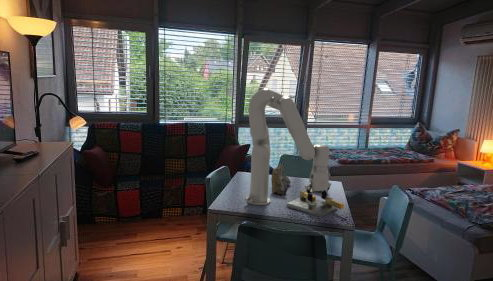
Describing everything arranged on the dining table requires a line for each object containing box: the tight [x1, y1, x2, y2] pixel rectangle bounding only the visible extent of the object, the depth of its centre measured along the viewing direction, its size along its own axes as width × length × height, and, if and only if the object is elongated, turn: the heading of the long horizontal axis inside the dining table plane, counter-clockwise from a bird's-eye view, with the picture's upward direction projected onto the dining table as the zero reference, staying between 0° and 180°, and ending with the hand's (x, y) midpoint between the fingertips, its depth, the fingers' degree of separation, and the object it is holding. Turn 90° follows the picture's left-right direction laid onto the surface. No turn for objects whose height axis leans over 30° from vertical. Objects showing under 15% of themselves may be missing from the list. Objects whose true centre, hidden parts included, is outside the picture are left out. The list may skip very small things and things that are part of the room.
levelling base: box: [286, 197, 338, 218], centre depth 173 cm, size 17×20×3 cm
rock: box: [270, 163, 292, 196], centre depth 203 cm, size 27×10×15 cm, turn 163°
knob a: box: [299, 190, 317, 202], centre depth 177 cm, size 11×4×4 cm, turn 25°
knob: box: [324, 196, 345, 210], centre depth 168 cm, size 11×4×4 cm, turn 27°
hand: (316, 200), depth 176 cm, fingers open, 9 cm apart
